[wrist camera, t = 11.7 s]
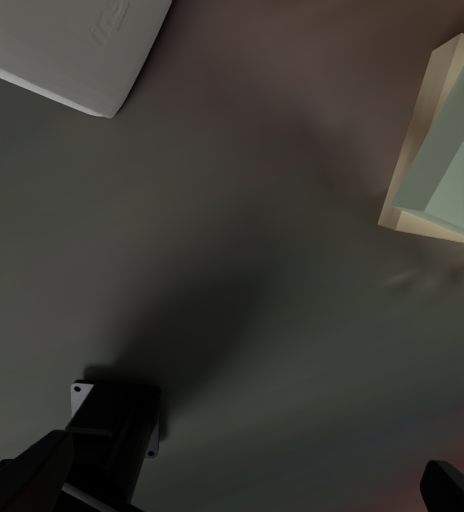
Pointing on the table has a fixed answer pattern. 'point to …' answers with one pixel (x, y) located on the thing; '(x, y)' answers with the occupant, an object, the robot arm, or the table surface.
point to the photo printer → (78, 48)
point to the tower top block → (439, 168)
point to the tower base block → (425, 112)
